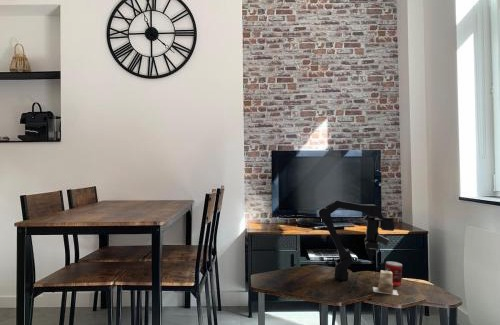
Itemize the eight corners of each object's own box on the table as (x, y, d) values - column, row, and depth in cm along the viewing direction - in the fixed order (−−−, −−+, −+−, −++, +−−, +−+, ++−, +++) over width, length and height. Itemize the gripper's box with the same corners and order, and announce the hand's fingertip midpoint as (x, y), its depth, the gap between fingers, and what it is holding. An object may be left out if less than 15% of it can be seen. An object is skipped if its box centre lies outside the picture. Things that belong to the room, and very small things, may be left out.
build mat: (373, 292, 178) (373, 291, 178) (372, 288, 186) (372, 286, 186) (398, 296, 175) (398, 295, 175) (396, 291, 183) (396, 290, 183)
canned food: (386, 281, 200) (387, 260, 200) (402, 284, 196) (403, 263, 196) (382, 284, 193) (384, 263, 194) (399, 288, 189) (400, 266, 189)
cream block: (379, 291, 178) (379, 283, 178) (378, 288, 184) (378, 279, 184) (392, 293, 177) (393, 285, 177) (391, 290, 182) (391, 281, 183)
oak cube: (380, 283, 179) (381, 272, 179) (379, 280, 183) (380, 270, 184) (391, 284, 177) (392, 274, 178) (390, 281, 182) (391, 271, 182)
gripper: (390, 233, 184) (388, 265, 184) (387, 228, 202) (385, 257, 202) (366, 230, 187) (364, 262, 187) (365, 226, 205) (363, 255, 205)
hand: (370, 259), depth 195 cm, fingers open, 9 cm apart
